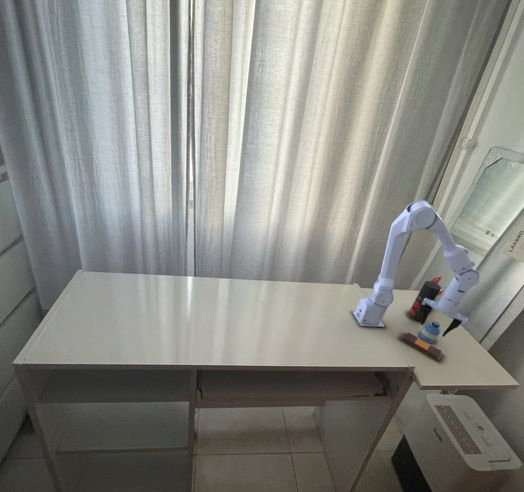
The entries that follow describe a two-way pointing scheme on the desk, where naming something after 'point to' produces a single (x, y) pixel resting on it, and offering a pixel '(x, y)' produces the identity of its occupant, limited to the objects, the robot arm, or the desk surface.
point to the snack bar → (422, 346)
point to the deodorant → (427, 291)
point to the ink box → (440, 290)
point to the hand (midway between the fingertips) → (432, 329)
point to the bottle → (430, 332)
